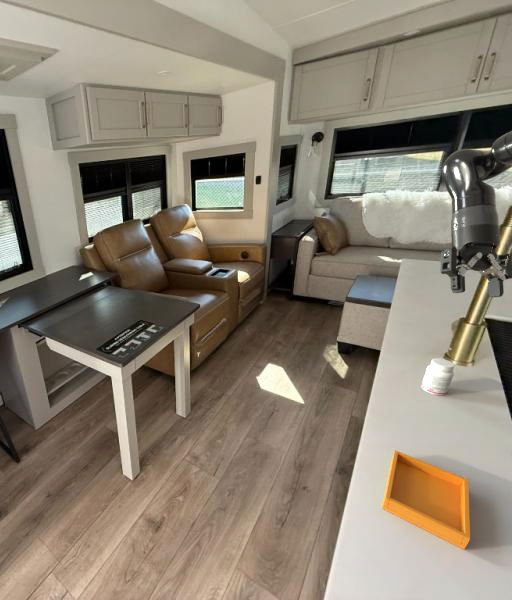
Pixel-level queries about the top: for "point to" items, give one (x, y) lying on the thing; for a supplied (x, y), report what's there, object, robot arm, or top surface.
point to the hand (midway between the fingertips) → (477, 294)
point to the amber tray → (429, 498)
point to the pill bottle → (438, 376)
